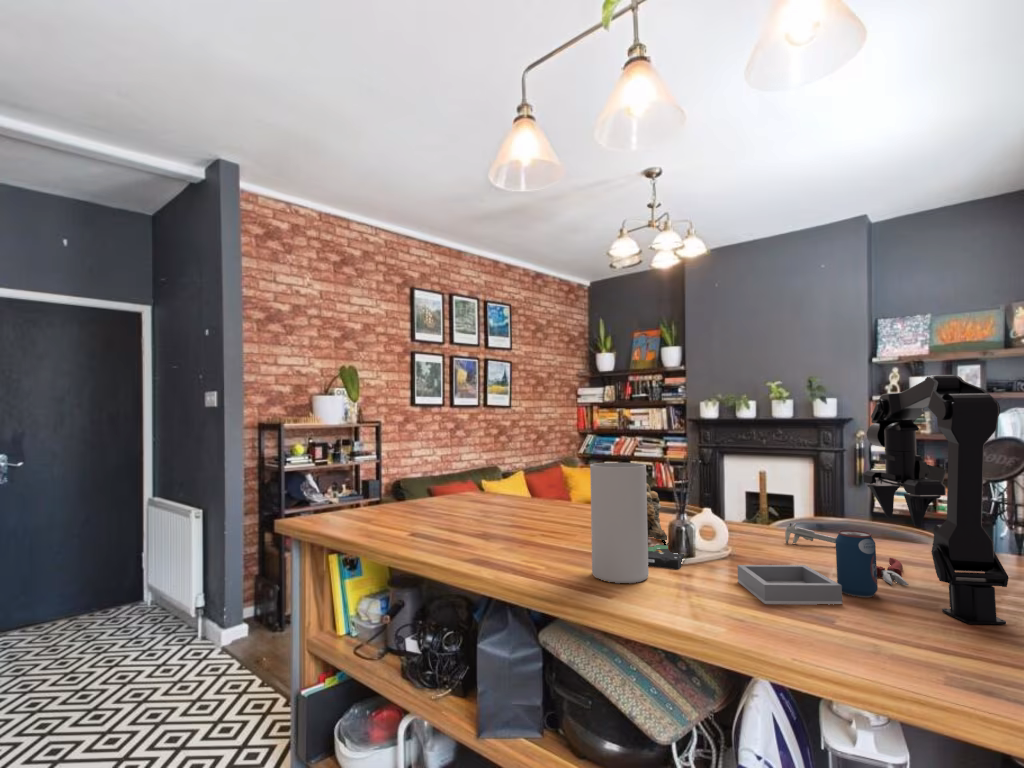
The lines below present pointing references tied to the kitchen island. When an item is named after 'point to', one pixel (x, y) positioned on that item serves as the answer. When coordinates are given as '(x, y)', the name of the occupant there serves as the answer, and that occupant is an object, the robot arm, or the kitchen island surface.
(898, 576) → the pliers
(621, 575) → the cylinder vase
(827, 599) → the tray
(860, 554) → the soda can
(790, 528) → the caliper
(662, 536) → the owl figurine
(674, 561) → the disk drive
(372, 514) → the kitchen island surface
